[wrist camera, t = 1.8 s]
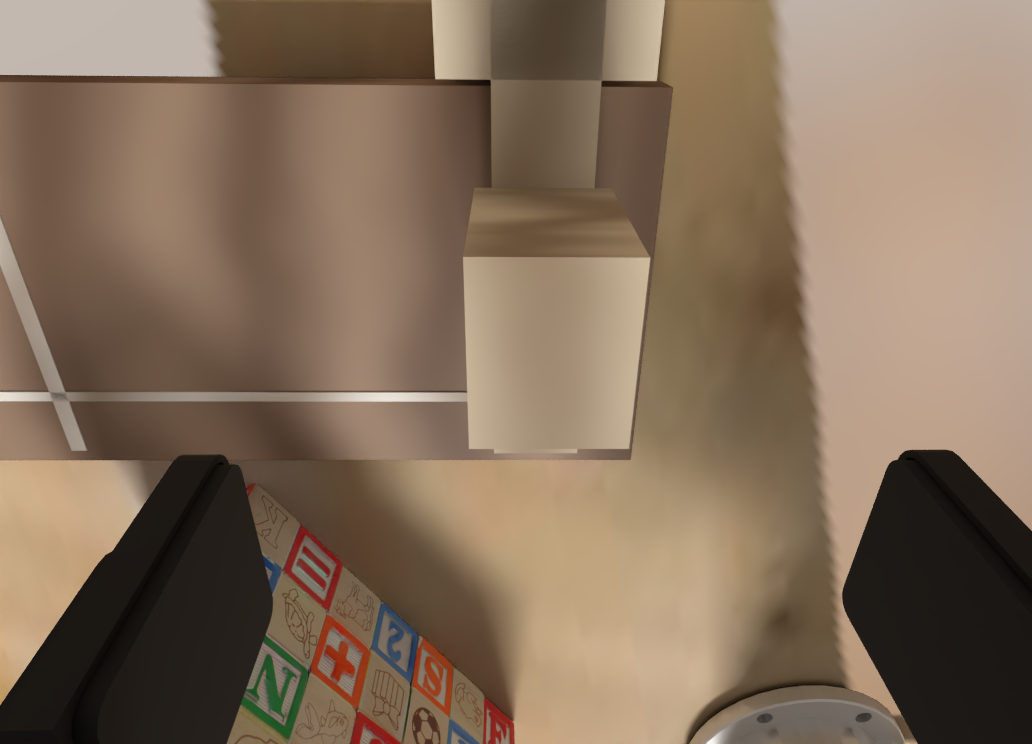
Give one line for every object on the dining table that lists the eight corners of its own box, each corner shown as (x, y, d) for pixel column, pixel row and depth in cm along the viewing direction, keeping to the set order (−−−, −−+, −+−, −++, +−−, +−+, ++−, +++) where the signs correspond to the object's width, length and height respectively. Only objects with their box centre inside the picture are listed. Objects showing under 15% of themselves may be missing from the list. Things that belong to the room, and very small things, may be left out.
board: (659, 80, 22) (673, 88, 20) (623, 431, 29) (630, 460, 27) (-139, 73, 22) (-197, 80, 20) (15, 432, 28) (-18, 461, 27)
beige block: (640, -26, 20) (741, -45, 12) (604, 397, 28) (649, 578, 19) (442, -29, 20) (395, -49, 12) (458, 397, 27) (437, 579, 19)
